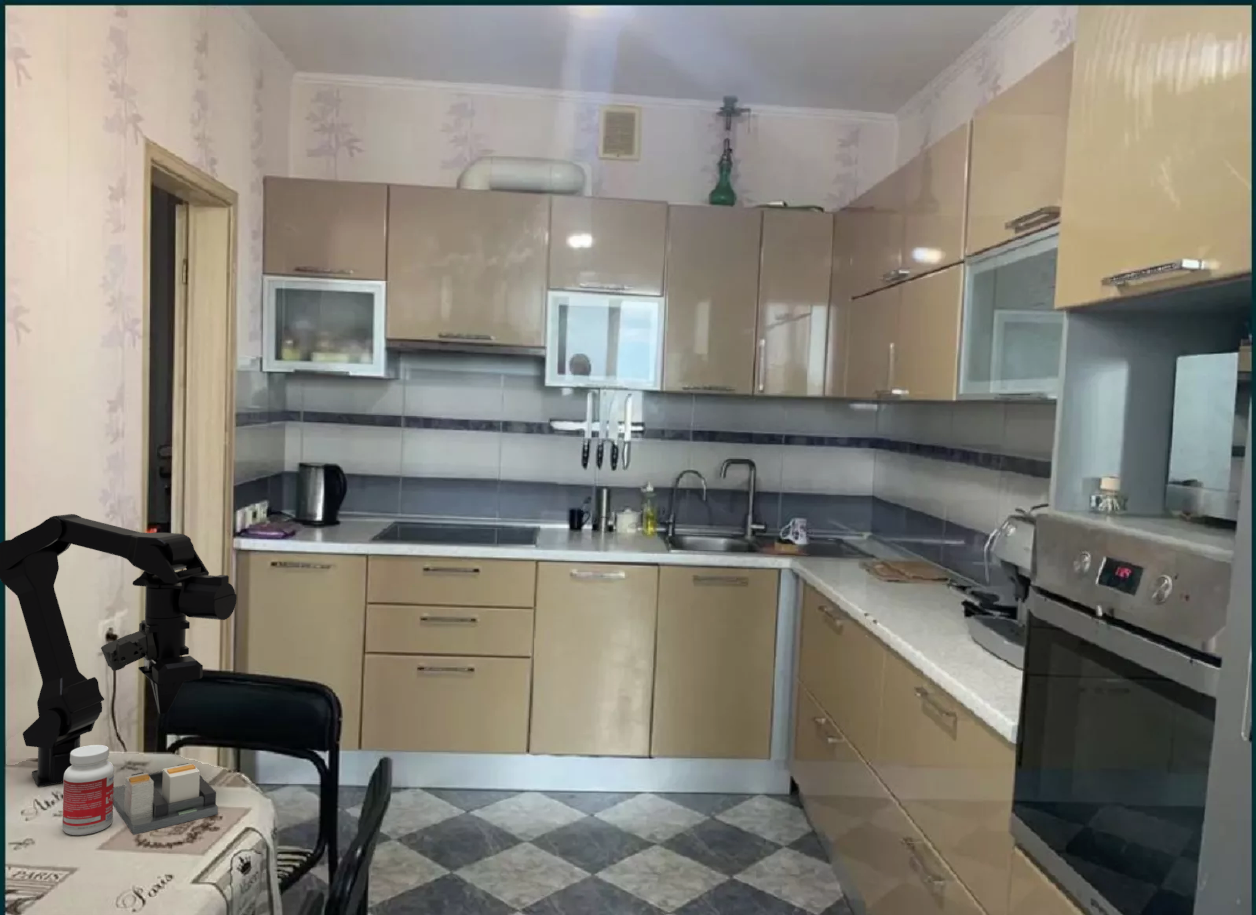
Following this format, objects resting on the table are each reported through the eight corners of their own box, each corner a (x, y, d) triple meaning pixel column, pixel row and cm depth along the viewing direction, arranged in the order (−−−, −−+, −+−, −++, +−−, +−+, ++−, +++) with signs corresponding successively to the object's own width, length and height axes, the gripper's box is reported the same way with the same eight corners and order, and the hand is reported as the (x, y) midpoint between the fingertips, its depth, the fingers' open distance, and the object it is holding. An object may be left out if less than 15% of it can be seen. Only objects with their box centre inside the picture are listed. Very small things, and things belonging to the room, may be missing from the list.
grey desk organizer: (107, 796, 136) (108, 754, 136) (185, 779, 143) (187, 739, 143) (133, 834, 124) (134, 788, 124) (217, 814, 131) (218, 770, 131)
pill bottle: (114, 830, 125) (116, 753, 124) (62, 840, 121) (64, 760, 121) (111, 813, 130) (113, 739, 130) (61, 822, 127) (63, 746, 126)
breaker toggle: (161, 801, 132) (162, 766, 132) (190, 795, 134) (191, 760, 134) (169, 811, 129) (170, 775, 129) (198, 804, 131) (199, 769, 131)
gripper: (93, 609, 140) (91, 706, 141) (122, 633, 126) (119, 740, 127) (170, 602, 148) (167, 695, 148) (205, 624, 134) (202, 726, 134)
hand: (163, 713), depth 139 cm, fingers closed
